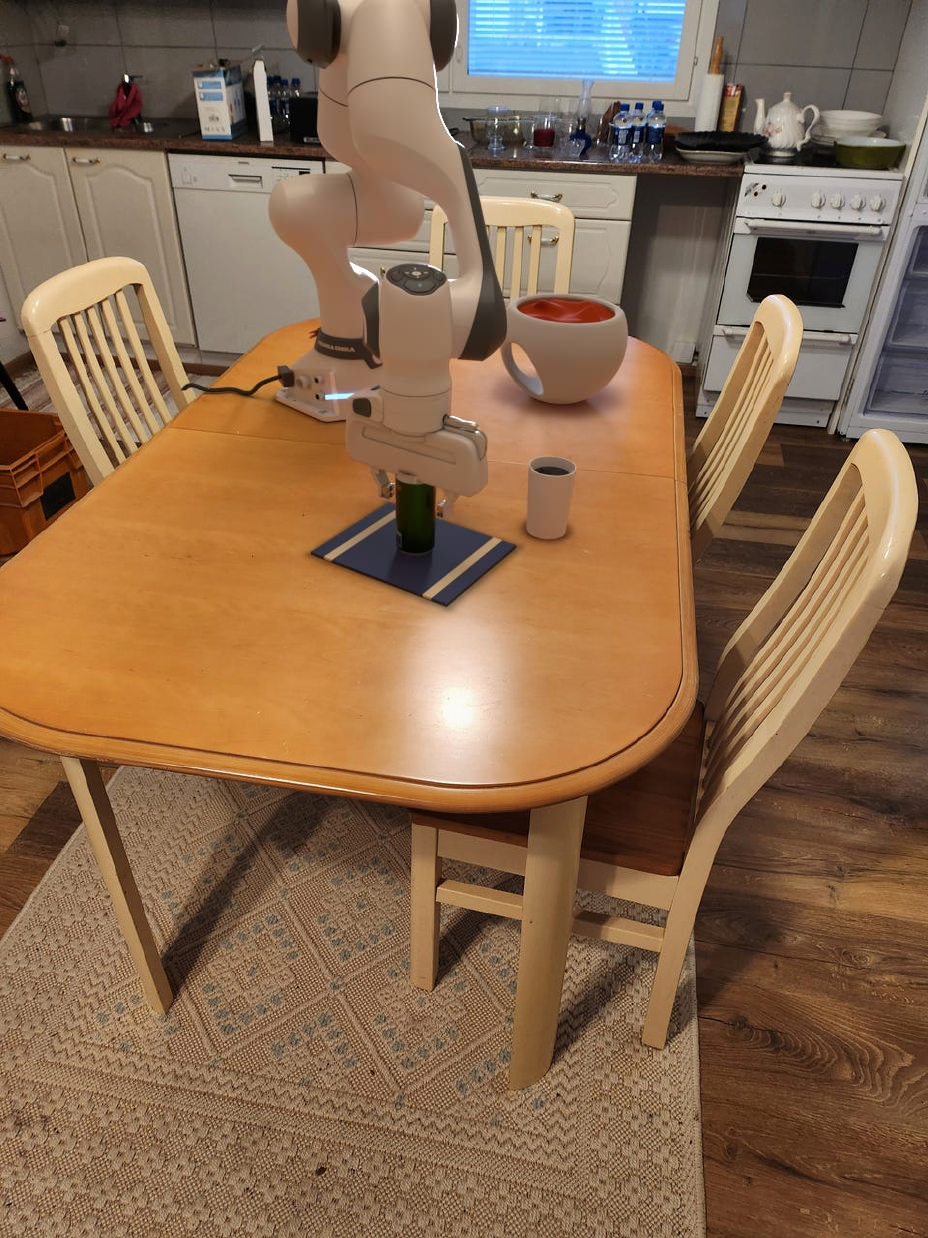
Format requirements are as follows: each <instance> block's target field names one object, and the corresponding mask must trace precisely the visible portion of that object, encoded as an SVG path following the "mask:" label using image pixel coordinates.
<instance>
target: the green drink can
mask: <svg viewBox="0 0 928 1238" xmlns="http://www.w3.org/2000/svg"><path fill="white" fill-rule="evenodd" d="M397 472H398V473H397V474H394V486H395V488H394V491H395V493H394V496H395V498H394V501H395V502H394V504H396V546H397V548H398V550H399V551H400V553H402V554H404V555H406V556H411V557H421V556H425V555H427V554H429V553H430V552H432V550H433V548H434V546H435V522H436V518H437V487H434V486H431V485H428V484H425V483H422V482H420V481H419V480H418V479H417V478H418V476H414V475H409V473H406V474H404V473H403V472H401V471H399V470H398V471H397Z"/></svg>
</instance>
